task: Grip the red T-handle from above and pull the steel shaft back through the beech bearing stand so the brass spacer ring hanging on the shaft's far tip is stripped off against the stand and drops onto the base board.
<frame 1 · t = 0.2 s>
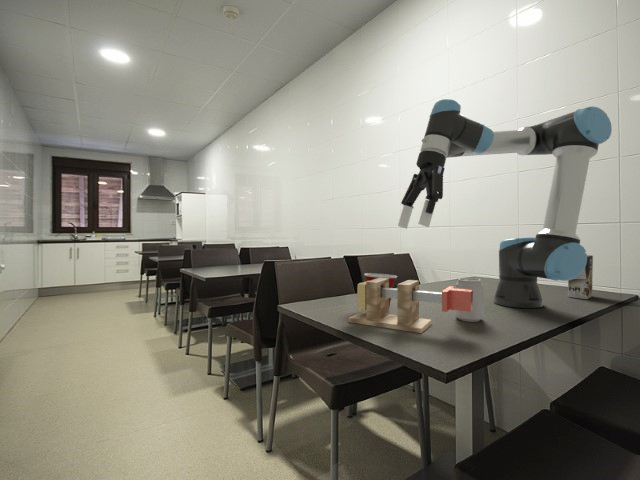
hand: (412, 226, 96), 27 cm above the table, tool tilted 20°, fingers open, 13 cm apart
plastic cup: (380, 310, 114), on the table
bearing stand: (391, 323, 97), on the table
shaft: (410, 294, 94), point 9 cm above the table, slide at 0.0 cm, touching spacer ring
coffee box: (580, 297, 133), on the table
can: (469, 319, 101), on the table
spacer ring: (366, 295, 101), point 7 cm above the table, touching shaft
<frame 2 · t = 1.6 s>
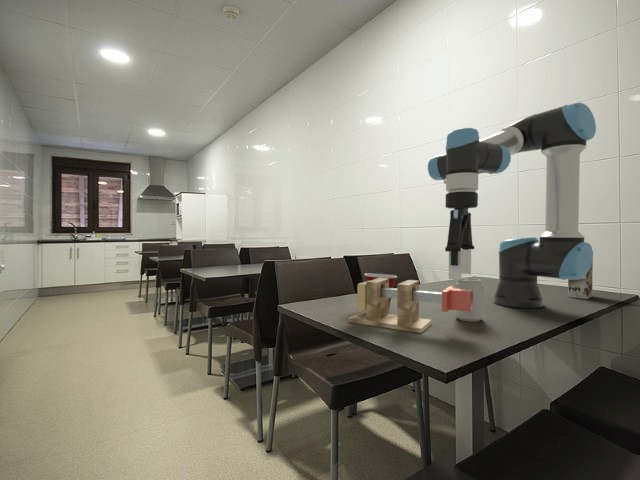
hand: (460, 276, 87), 15 cm above the table, tool pointing down, fingers open, 13 cm apart
nothing on the table moved.
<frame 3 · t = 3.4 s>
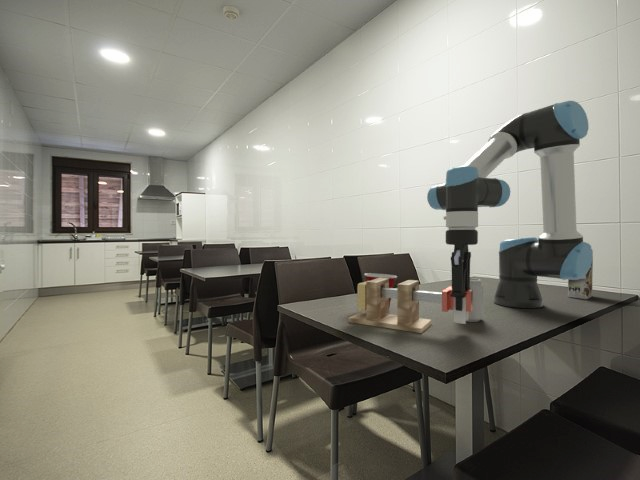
hand: (461, 321, 87), 3 cm above the table, tool pointing down, fingers closed on shaft, 3 cm apart
shaft: (410, 294, 94), point 9 cm above the table, slide at 0.0 cm, touching gripper, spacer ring
everything else where it was.
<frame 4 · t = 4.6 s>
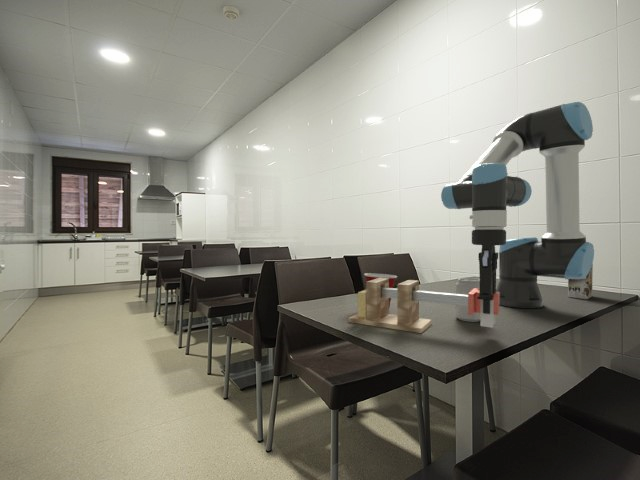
hand: (487, 324, 84), 3 cm above the table, tool pointing down, fingers closed on shaft, 3 cm apart
shaft: (433, 297, 91), point 9 cm above the table, slide at 6.1 cm, touching gripper
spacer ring: (367, 303, 101), point 5 cm above the table, touching bearing stand
everything else where it was.
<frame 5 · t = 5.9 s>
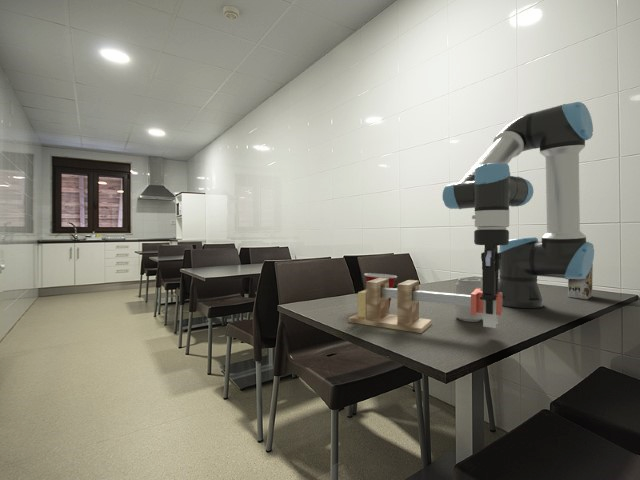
hand: (490, 324, 84), 3 cm above the table, tool pointing down, fingers open, 3 cm apart
shaft: (435, 297, 90), point 9 cm above the table, slide at 6.7 cm
everything else where it was.
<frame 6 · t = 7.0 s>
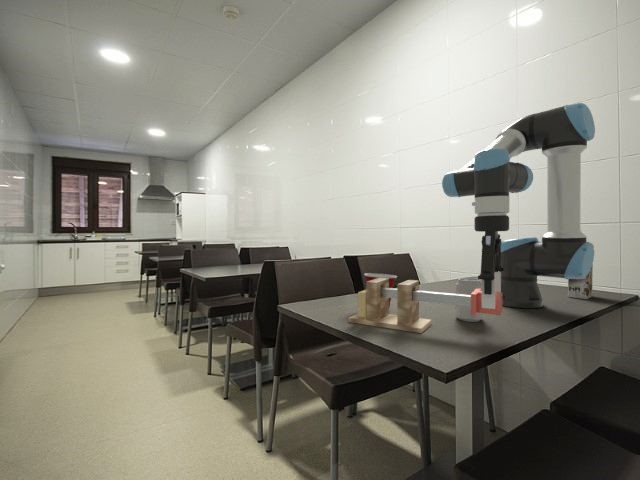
hand: (491, 302, 84), 9 cm above the table, tool pointing down, fingers open, 13 cm apart
nothing on the table moved.
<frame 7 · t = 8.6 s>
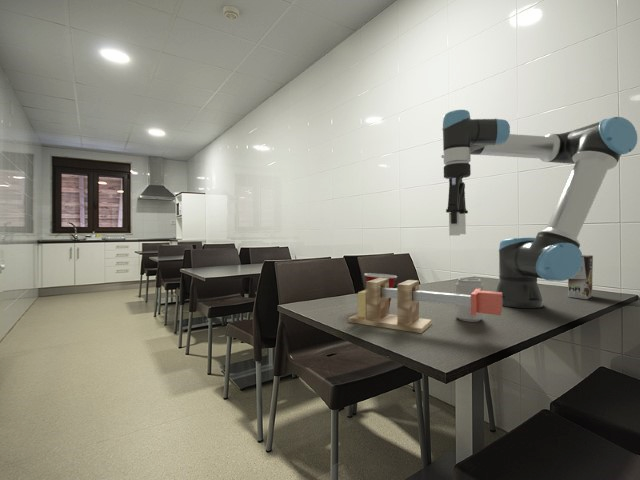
hand: (458, 234, 104), 25 cm above the table, tool pointing down, fingers open, 13 cm apart
nothing on the table moved.
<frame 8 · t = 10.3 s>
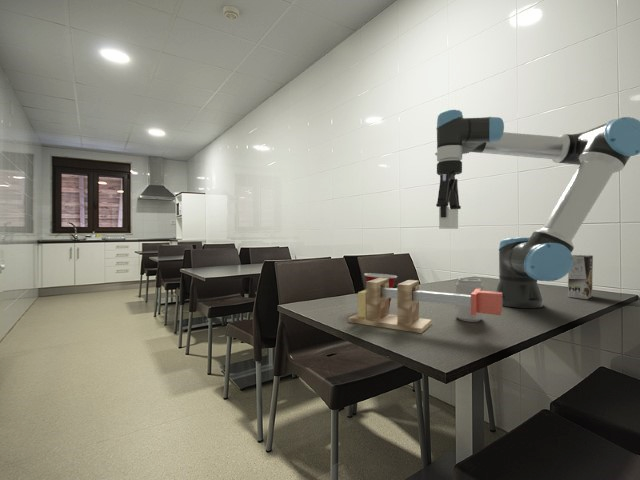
hand: (449, 228, 109), 27 cm above the table, tool pointing down, fingers open, 13 cm apart
nothing on the table moved.
at the end: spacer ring point 4.9 cm above the table; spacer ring touching bearing stand; shaft slide at 6.7 cm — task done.
